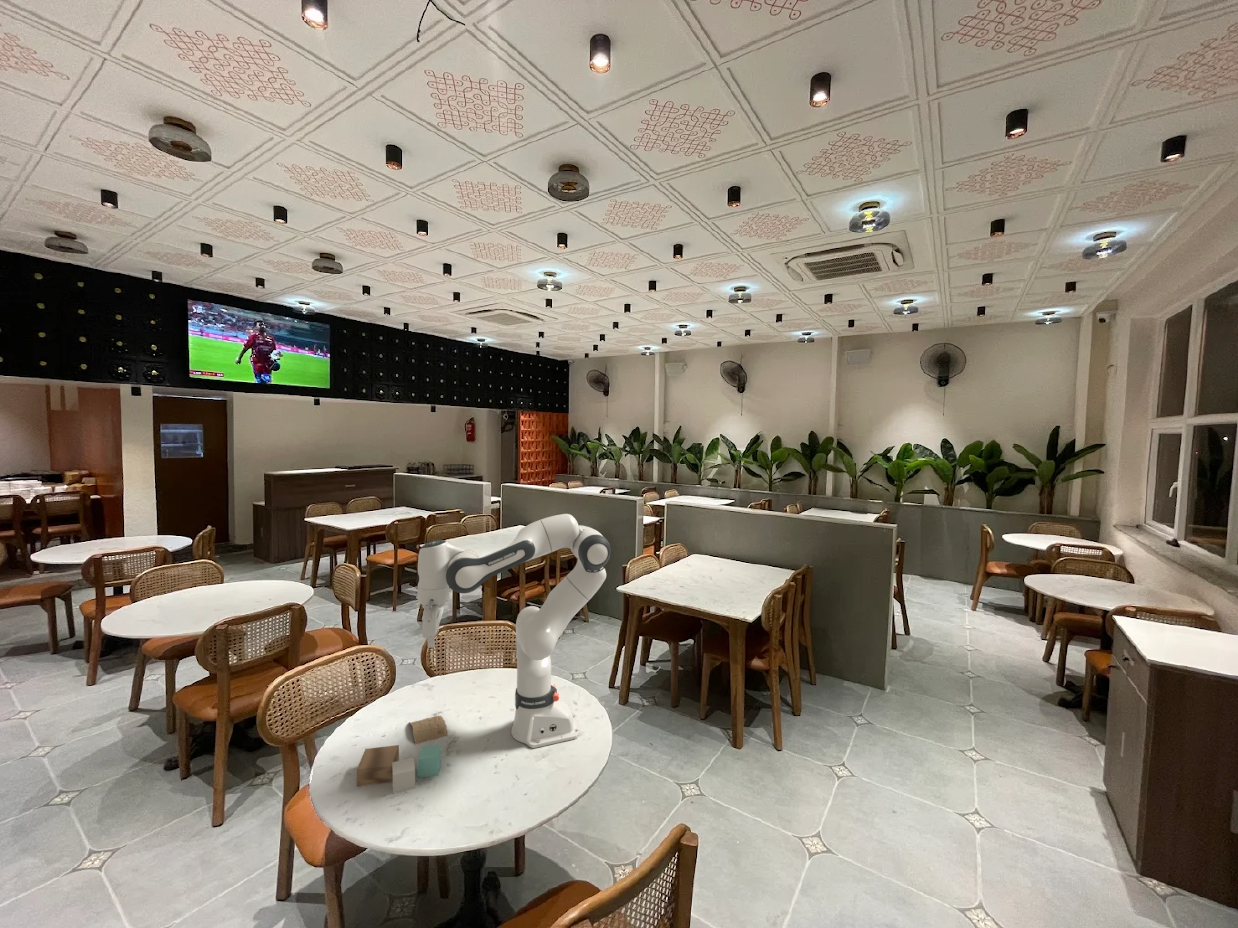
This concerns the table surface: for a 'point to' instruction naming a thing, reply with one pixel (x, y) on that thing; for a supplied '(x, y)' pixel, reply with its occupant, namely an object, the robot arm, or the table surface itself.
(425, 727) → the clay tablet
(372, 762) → the walnut base
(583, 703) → the table surface
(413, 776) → the grey cube
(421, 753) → the teal cube
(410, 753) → the table surface
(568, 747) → the table surface
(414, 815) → the table surface
